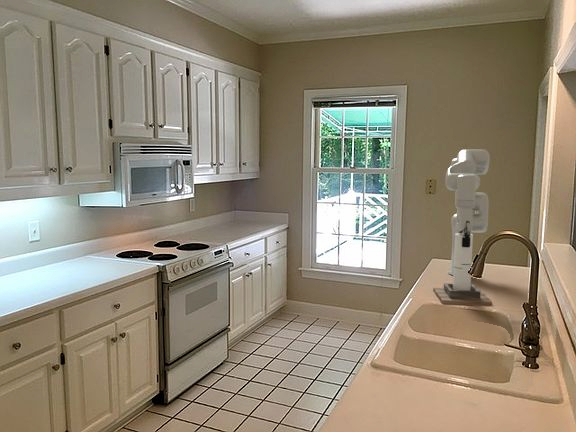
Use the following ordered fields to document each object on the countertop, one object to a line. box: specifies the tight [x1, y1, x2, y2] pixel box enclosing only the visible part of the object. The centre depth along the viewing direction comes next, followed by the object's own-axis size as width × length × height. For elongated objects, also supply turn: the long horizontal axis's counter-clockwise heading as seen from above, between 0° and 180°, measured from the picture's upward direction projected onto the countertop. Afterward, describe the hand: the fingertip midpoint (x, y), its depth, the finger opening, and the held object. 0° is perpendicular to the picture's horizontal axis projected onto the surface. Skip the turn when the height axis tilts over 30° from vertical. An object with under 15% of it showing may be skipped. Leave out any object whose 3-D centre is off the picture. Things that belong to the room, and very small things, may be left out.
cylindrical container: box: [452, 233, 474, 291], centre depth 213 cm, size 7×7×25 cm
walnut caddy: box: [432, 283, 493, 306], centre depth 214 cm, size 20×20×4 cm
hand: (463, 245), depth 212 cm, fingers closed on cylindrical container, 7 cm apart
